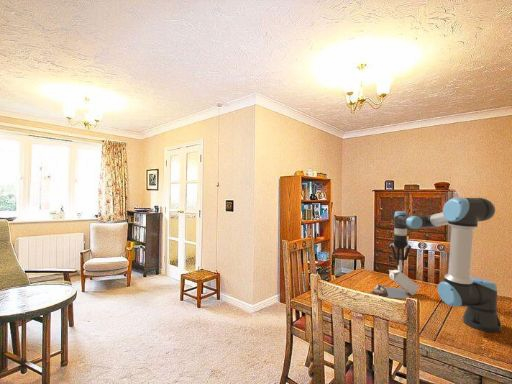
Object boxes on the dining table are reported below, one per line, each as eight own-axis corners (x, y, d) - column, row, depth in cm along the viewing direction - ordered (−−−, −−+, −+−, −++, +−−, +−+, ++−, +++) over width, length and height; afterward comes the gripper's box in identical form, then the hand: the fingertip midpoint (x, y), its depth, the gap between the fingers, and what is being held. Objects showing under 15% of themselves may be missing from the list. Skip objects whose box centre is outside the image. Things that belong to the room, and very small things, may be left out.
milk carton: (415, 284, 183) (391, 265, 186) (420, 287, 176) (395, 267, 179) (408, 292, 183) (384, 273, 186) (413, 295, 176) (388, 276, 178)
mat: (413, 299, 170) (413, 299, 170) (383, 297, 174) (383, 296, 174) (402, 288, 190) (402, 288, 190) (376, 287, 194) (376, 286, 194)
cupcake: (371, 297, 174) (372, 282, 174) (388, 300, 169) (388, 284, 169) (369, 302, 165) (369, 286, 165) (387, 306, 160) (387, 289, 160)
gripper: (409, 234, 184) (408, 269, 184) (388, 233, 186) (387, 267, 186) (413, 236, 176) (412, 272, 176) (391, 235, 179) (390, 271, 179)
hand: (399, 270), depth 181 cm, fingers closed
